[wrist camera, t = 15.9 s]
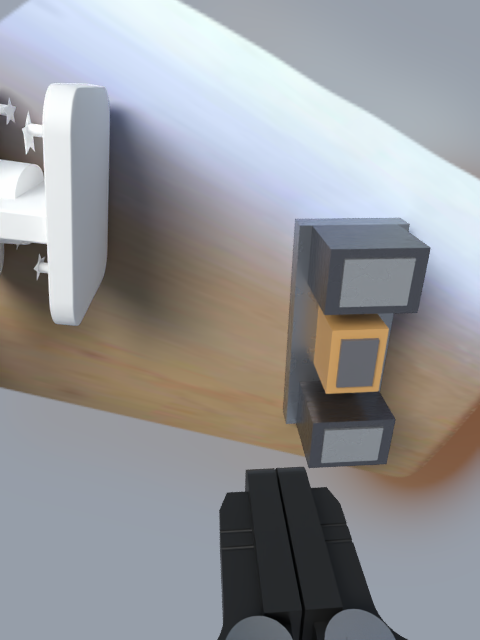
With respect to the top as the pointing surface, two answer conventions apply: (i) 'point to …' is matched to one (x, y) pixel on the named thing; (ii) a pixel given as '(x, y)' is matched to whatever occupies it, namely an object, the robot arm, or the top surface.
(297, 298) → the rail plate
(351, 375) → the orange module
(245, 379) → the top surface
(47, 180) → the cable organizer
